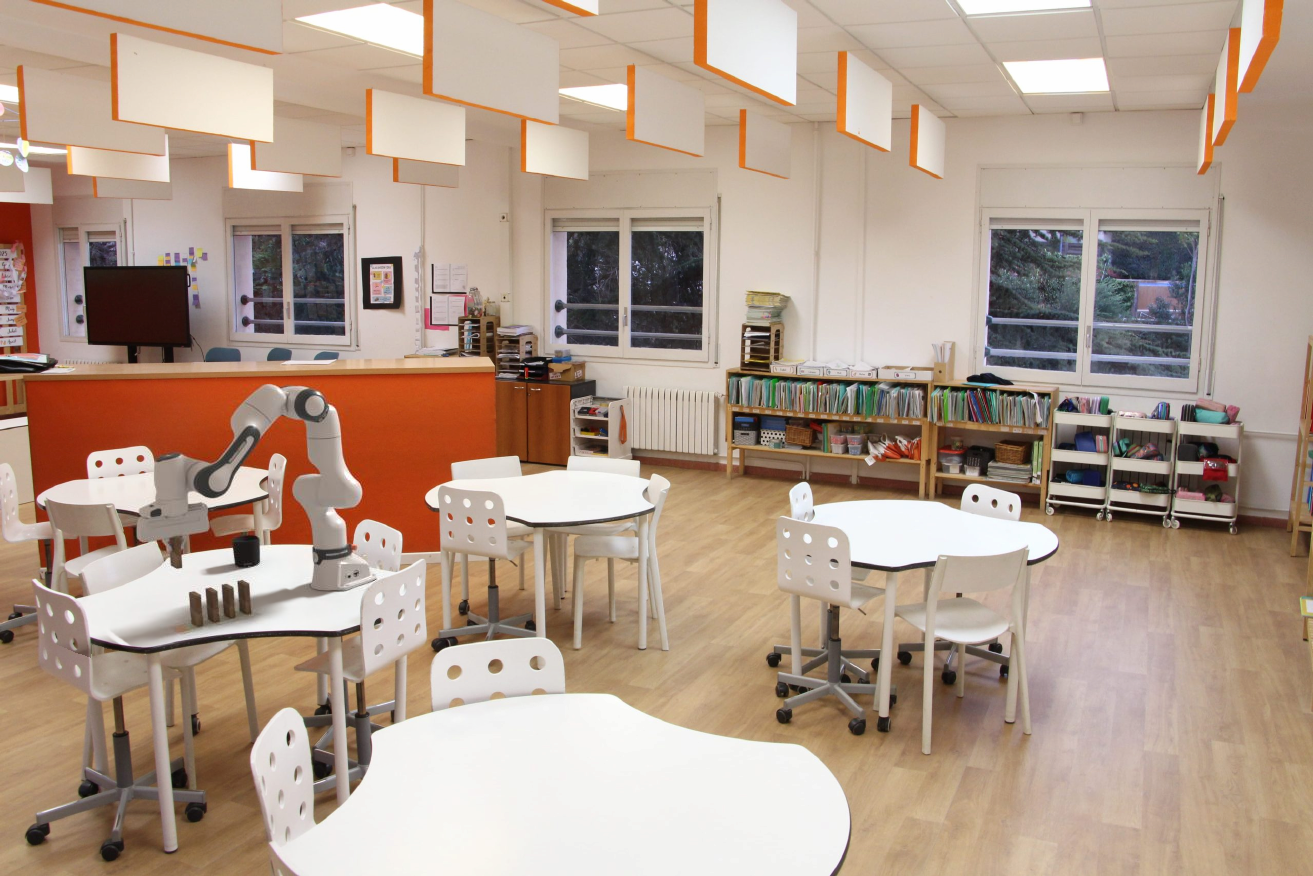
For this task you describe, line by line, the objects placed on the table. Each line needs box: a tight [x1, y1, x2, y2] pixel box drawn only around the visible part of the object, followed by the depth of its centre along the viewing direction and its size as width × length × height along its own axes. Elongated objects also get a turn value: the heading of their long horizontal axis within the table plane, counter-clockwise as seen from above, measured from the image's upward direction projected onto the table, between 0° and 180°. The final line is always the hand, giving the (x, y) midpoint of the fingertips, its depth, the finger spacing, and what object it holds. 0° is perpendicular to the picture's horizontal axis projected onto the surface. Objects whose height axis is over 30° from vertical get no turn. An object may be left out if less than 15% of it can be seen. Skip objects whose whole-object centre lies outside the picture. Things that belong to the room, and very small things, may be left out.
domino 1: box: [188, 590, 204, 627], centre depth 297 cm, size 2×5×10 cm, turn 47°
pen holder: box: [231, 534, 261, 568], centre depth 360 cm, size 9×9×10 cm
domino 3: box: [221, 583, 236, 619], centre depth 304 cm, size 2×5×10 cm, turn 47°
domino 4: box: [236, 579, 252, 615], centre depth 307 cm, size 2×5×10 cm, turn 47°
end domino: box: [168, 536, 183, 570], centre depth 296 cm, size 2×5×10 cm, turn 47°
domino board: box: [169, 608, 260, 635], centre depth 302 cm, size 24×9×1 cm, turn 137°
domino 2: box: [204, 587, 220, 623], centre depth 300 cm, size 2×5×10 cm, turn 47°
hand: (175, 550), depth 296 cm, fingers closed on end domino, 2 cm apart
